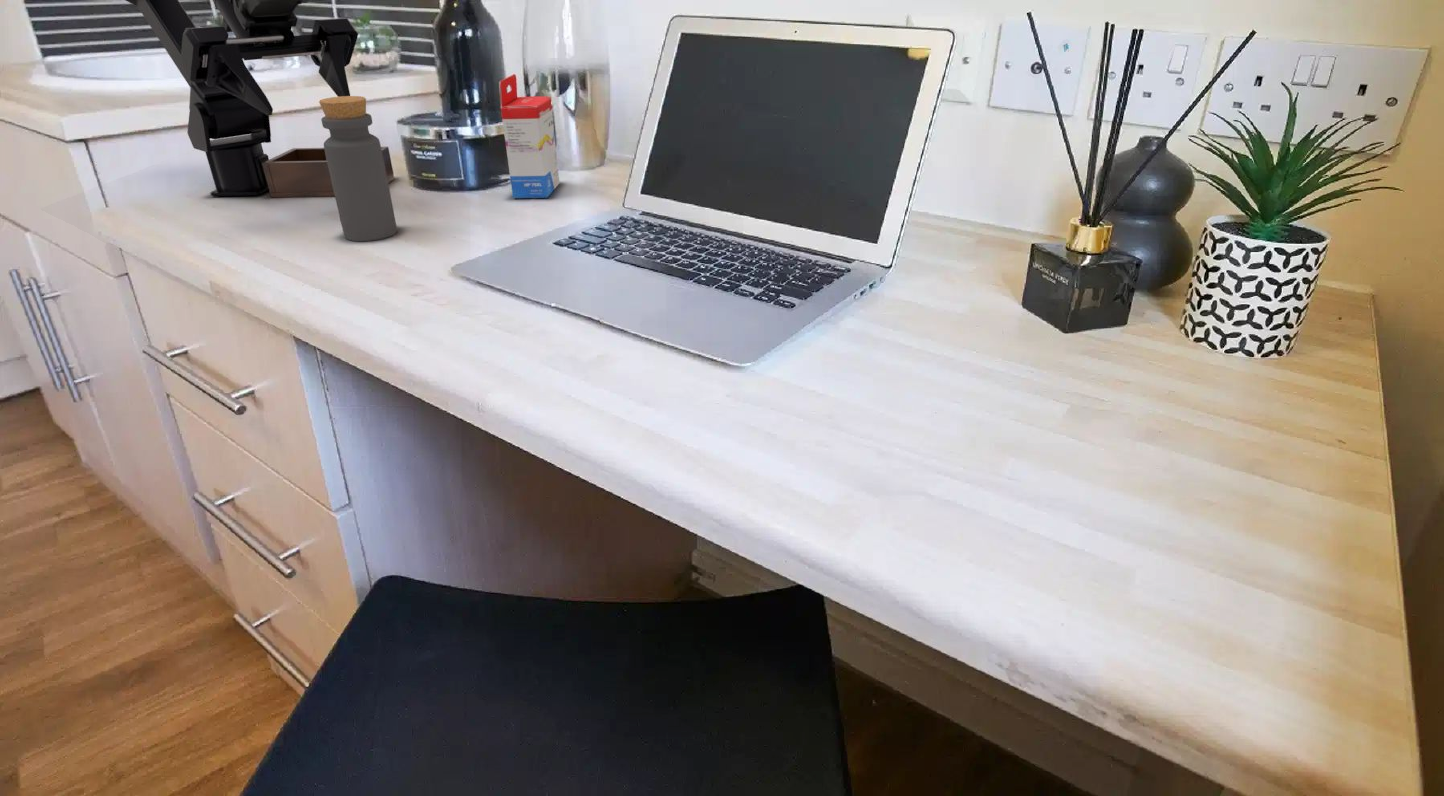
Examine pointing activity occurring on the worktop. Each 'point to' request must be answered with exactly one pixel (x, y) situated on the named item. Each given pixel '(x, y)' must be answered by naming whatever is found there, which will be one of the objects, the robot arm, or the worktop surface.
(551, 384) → the worktop surface
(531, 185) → the ink box
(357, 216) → the bottle
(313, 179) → the crate
